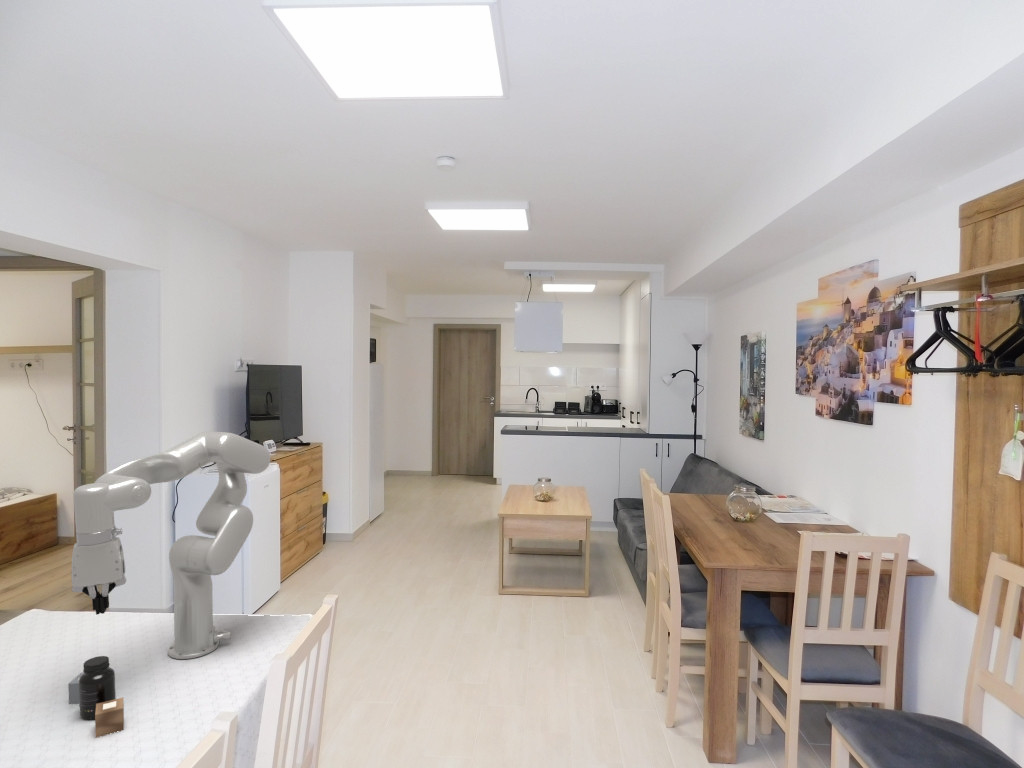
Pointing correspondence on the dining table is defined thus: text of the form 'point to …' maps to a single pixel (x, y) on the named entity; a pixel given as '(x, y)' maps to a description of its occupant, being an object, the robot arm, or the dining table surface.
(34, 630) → the dining table surface
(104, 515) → the robot arm
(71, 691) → the slate grey block
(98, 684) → the supplement bottle
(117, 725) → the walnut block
